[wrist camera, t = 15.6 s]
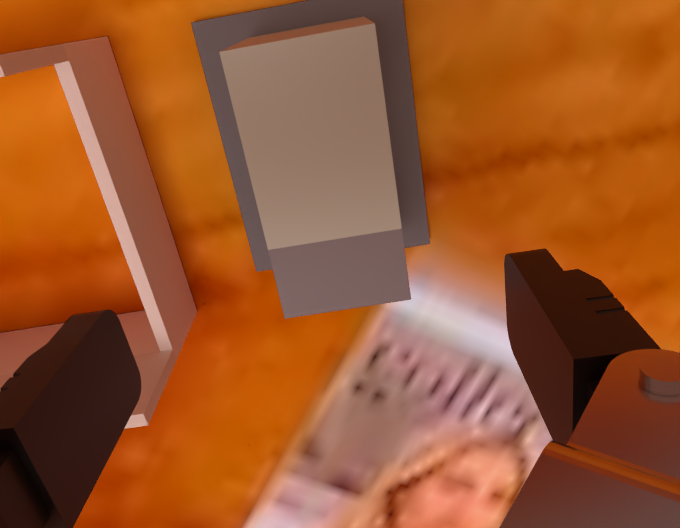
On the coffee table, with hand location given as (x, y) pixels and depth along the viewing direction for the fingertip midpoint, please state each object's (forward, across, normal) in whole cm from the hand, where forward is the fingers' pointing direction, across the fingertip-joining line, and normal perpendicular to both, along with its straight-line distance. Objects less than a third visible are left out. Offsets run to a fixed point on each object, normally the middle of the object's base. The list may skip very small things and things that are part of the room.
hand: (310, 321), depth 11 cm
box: (+16, 0, 0) cm, 16 cm away
